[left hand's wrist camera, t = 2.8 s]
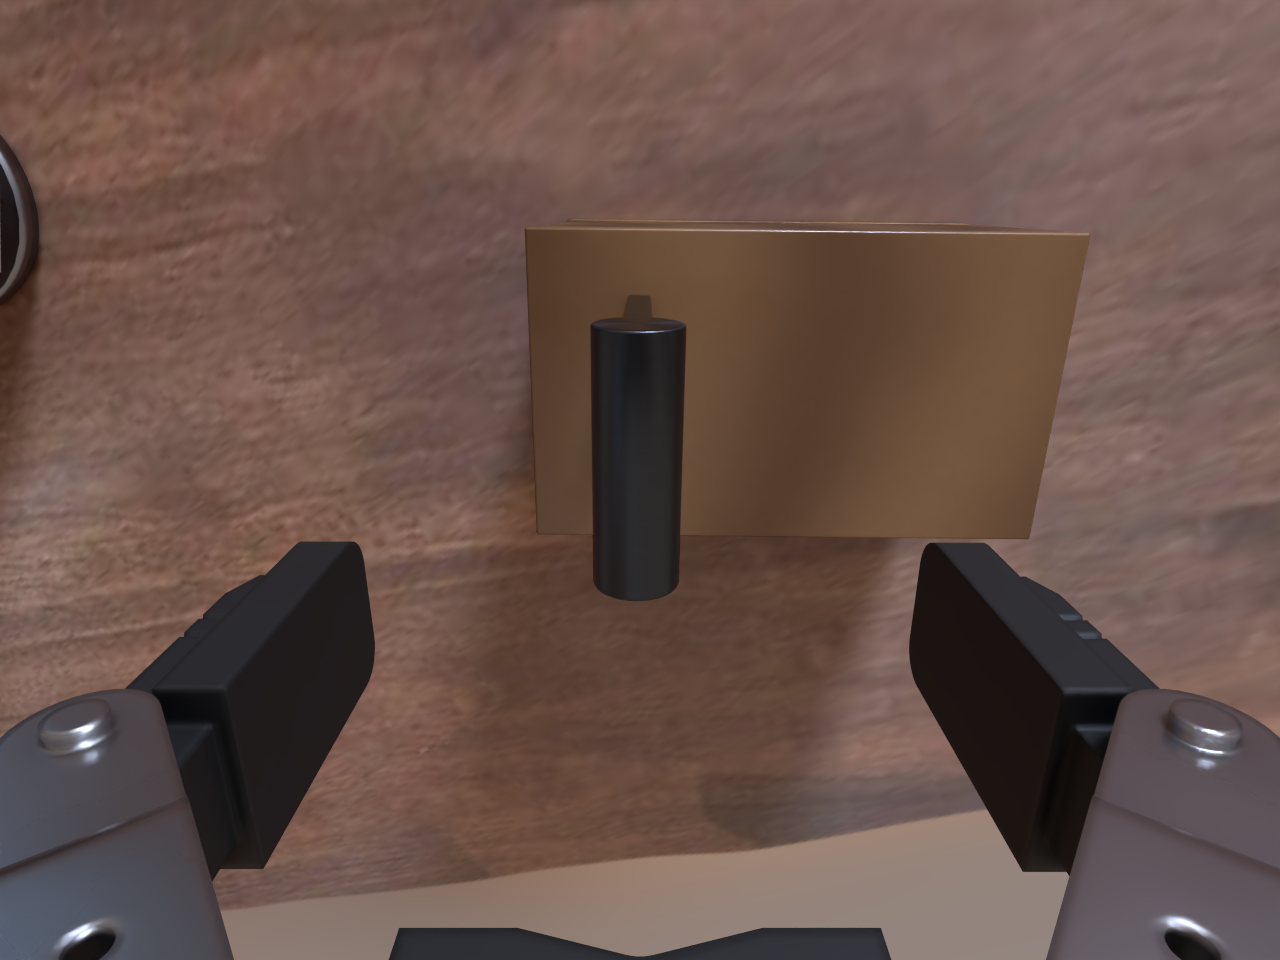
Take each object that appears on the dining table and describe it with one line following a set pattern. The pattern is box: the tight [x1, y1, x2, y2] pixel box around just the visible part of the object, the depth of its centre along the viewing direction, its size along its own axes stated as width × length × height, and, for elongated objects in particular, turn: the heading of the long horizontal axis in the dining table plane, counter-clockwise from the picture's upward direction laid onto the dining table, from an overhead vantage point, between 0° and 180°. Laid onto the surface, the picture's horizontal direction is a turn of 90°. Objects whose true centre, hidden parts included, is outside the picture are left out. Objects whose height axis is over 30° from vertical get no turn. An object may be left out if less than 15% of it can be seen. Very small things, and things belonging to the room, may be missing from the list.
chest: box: [550, 219, 1064, 232], centre depth 30 cm, size 16×10×9 cm, turn 89°
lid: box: [525, 226, 1090, 601], centre depth 21 cm, size 17×10×9 cm, turn 89°
